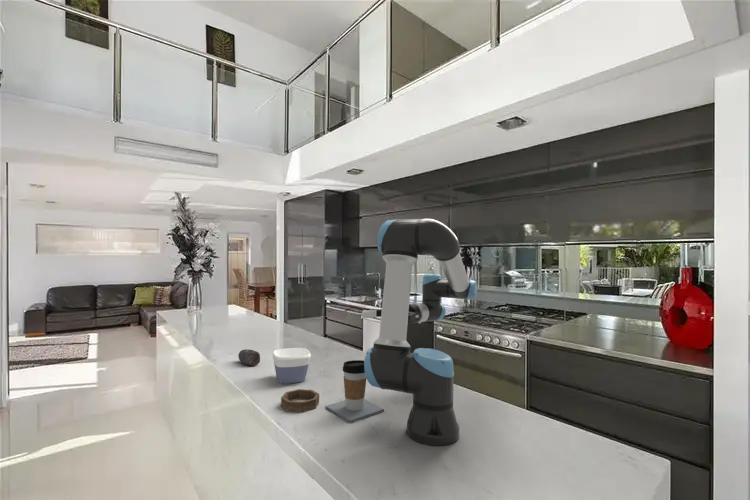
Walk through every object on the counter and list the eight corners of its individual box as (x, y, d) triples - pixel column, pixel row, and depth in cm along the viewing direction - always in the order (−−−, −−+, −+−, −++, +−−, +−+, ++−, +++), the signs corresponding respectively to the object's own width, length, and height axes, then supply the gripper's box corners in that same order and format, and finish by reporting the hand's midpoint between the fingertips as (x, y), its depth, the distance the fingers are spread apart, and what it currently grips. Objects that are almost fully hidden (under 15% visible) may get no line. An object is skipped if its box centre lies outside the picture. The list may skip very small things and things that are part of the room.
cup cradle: (324, 405, 124) (324, 396, 124) (292, 414, 116) (293, 405, 116) (306, 395, 133) (307, 387, 133) (276, 403, 125) (276, 394, 126)
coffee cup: (363, 413, 116) (364, 366, 117) (338, 410, 118) (339, 364, 118) (369, 403, 124) (370, 359, 125) (346, 401, 126) (347, 357, 127)
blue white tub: (313, 383, 147) (314, 355, 147) (274, 387, 141) (274, 358, 141) (306, 372, 161) (306, 346, 161) (270, 375, 155) (270, 349, 156)
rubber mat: (384, 411, 120) (384, 408, 120) (350, 422, 111) (350, 420, 111) (358, 398, 131) (358, 396, 131) (325, 408, 122) (325, 405, 122)
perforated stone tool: (234, 362, 175) (235, 347, 175) (244, 359, 179) (245, 345, 179) (250, 368, 165) (251, 353, 165) (261, 366, 169) (261, 351, 169)
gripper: (439, 327, 135) (397, 332, 121) (393, 318, 154) (353, 322, 140) (439, 306, 135) (398, 310, 122) (393, 301, 154) (353, 303, 141)
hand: (374, 316), depth 131 cm, fingers open, 13 cm apart
